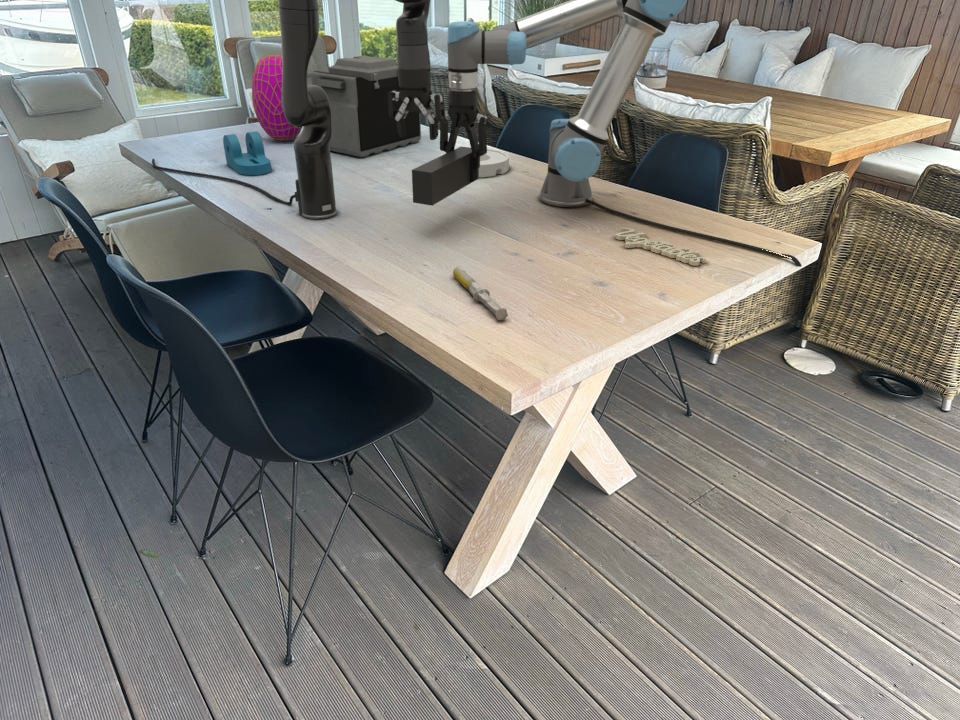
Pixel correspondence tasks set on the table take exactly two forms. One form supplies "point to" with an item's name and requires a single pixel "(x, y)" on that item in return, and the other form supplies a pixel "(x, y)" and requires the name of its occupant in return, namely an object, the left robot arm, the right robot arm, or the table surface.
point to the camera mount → (246, 154)
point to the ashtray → (492, 163)
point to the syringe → (479, 293)
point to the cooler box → (364, 106)
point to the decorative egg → (271, 99)
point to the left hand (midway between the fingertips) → (418, 138)
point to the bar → (442, 176)
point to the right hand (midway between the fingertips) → (463, 179)
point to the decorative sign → (659, 247)
